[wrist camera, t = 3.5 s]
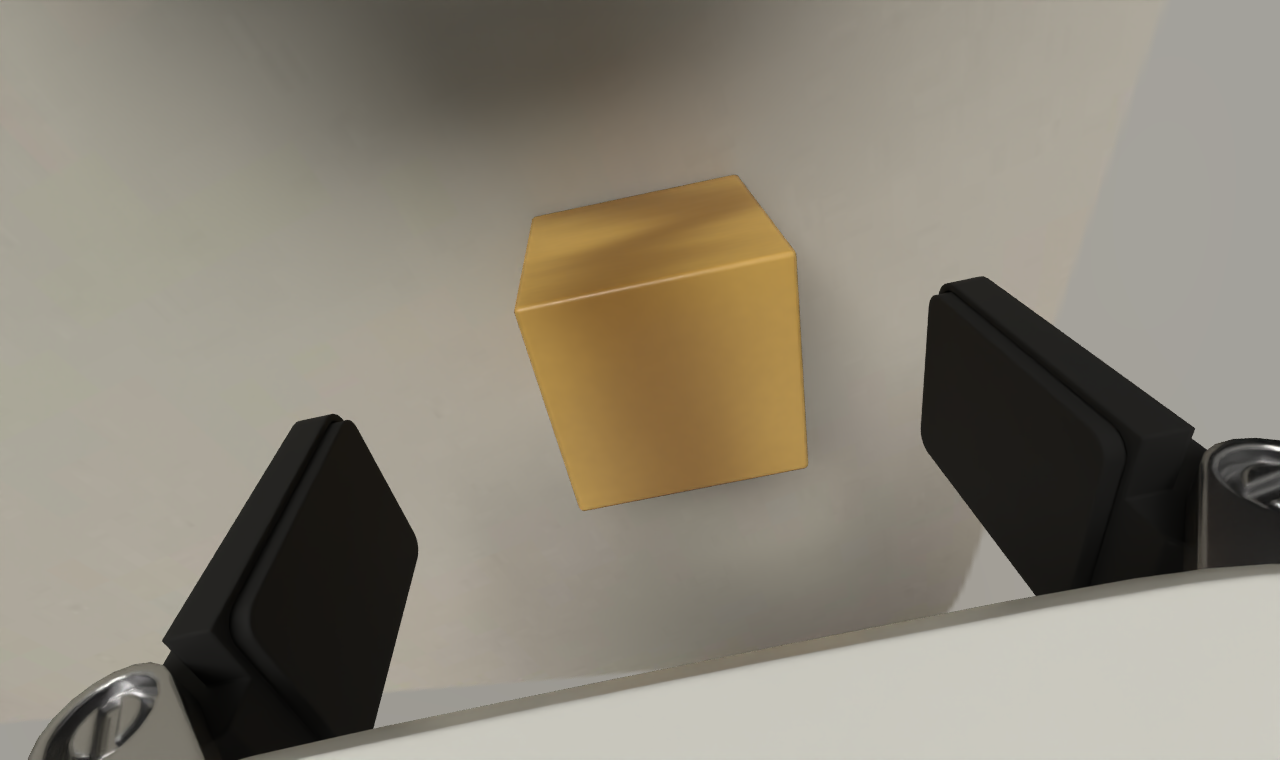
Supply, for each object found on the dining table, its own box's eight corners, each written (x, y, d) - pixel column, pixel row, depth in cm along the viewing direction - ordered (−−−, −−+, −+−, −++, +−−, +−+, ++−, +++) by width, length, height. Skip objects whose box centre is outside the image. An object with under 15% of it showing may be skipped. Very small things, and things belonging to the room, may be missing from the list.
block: (737, 172, 13) (797, 250, 10) (756, 351, 16) (810, 469, 12) (531, 216, 13) (511, 309, 10) (580, 386, 16) (580, 514, 12)
